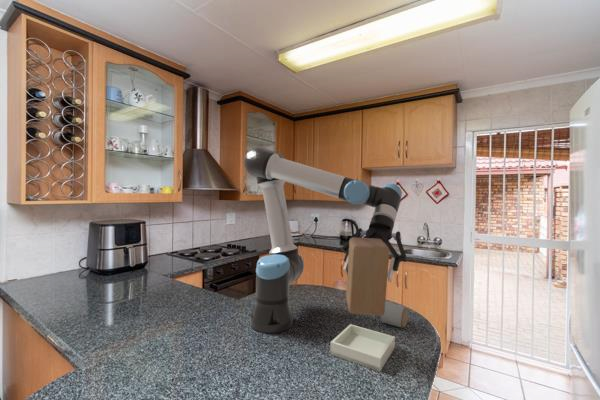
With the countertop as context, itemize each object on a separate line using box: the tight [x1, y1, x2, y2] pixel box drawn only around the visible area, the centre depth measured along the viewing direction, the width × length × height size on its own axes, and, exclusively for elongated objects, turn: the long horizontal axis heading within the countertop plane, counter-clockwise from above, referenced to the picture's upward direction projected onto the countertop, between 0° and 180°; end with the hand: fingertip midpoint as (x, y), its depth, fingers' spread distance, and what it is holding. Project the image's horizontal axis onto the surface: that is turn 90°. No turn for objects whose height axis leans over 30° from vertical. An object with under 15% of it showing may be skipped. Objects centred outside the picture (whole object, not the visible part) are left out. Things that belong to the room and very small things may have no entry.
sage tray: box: [329, 323, 396, 372], centre depth 86 cm, size 15×15×4 cm
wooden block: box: [345, 236, 390, 316], centre depth 84 cm, size 10×10×20 cm
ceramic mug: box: [380, 300, 409, 328], centre depth 105 cm, size 11×8×8 cm
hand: (366, 275), depth 84 cm, fingers closed on wooden block, 13 cm apart
